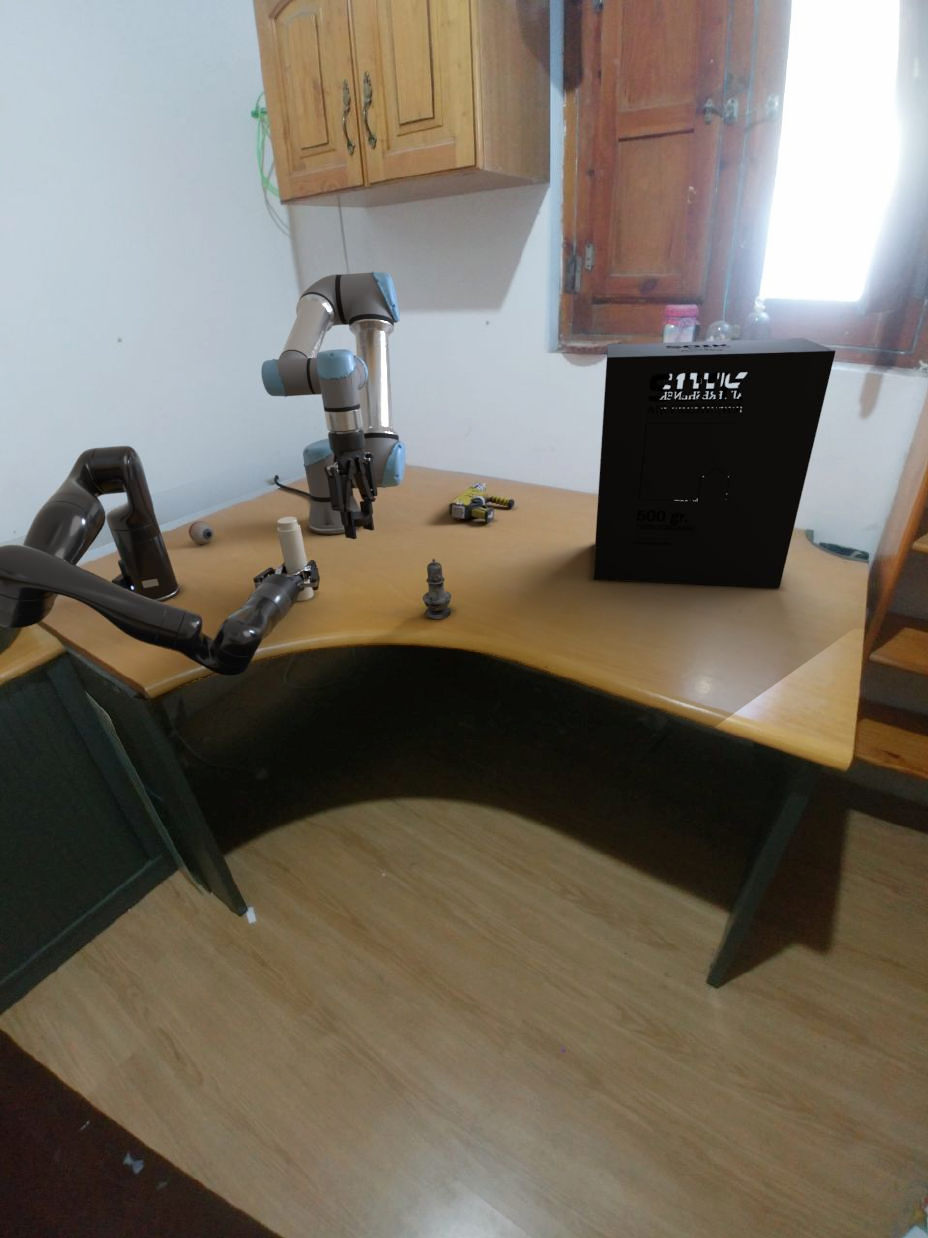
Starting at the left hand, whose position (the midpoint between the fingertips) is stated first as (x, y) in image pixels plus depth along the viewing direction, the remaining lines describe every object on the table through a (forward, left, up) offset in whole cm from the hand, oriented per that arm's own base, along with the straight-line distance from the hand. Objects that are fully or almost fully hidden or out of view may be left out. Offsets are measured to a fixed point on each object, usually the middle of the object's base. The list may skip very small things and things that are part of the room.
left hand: (301, 563), depth 132 cm
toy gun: (+36, +51, -6) cm, 63 cm away
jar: (0, -3, -6) cm, 7 cm away
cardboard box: (+83, +14, -6) cm, 85 cm away
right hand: (+11, +11, +3) cm, 15 cm away
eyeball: (-38, +27, -6) cm, 47 cm away
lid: (+11, +11, +7) cm, 17 cm away
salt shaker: (+31, -10, -6) cm, 33 cm away
